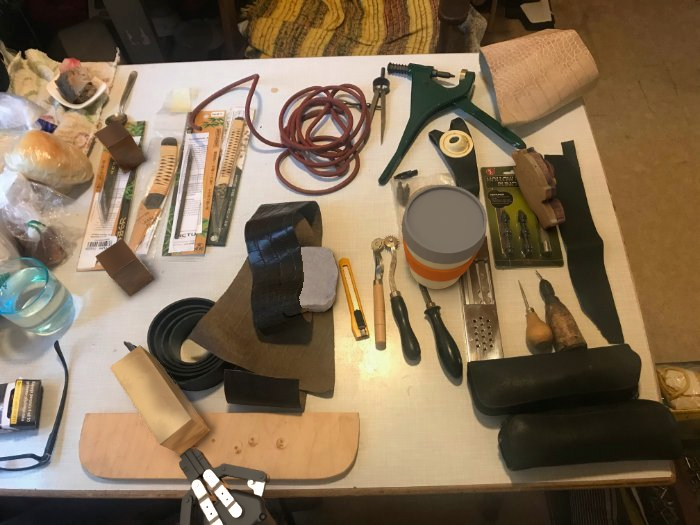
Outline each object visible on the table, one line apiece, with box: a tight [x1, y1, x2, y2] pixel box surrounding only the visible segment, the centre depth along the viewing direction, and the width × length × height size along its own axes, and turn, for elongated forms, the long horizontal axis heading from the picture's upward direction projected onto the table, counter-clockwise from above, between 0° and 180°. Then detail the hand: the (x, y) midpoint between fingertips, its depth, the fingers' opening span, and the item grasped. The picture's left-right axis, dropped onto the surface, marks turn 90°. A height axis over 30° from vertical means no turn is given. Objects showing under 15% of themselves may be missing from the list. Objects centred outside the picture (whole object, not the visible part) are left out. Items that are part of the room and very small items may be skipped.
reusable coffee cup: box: [401, 184, 488, 290], centre depth 81 cm, size 13×13×15 cm
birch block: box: [109, 344, 211, 455], centre depth 74 cm, size 5×14×9 cm, turn 41°
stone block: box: [299, 246, 339, 313], centre depth 86 cm, size 12×5×10 cm
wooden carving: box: [511, 146, 566, 230], centre depth 89 cm, size 16×5×10 cm, turn 20°
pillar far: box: [94, 119, 147, 175], centre depth 99 cm, size 5×5×8 cm
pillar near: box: [95, 238, 156, 297], centre depth 86 cm, size 5×5×8 cm
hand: (186, 452), depth 64 cm, fingers closed
